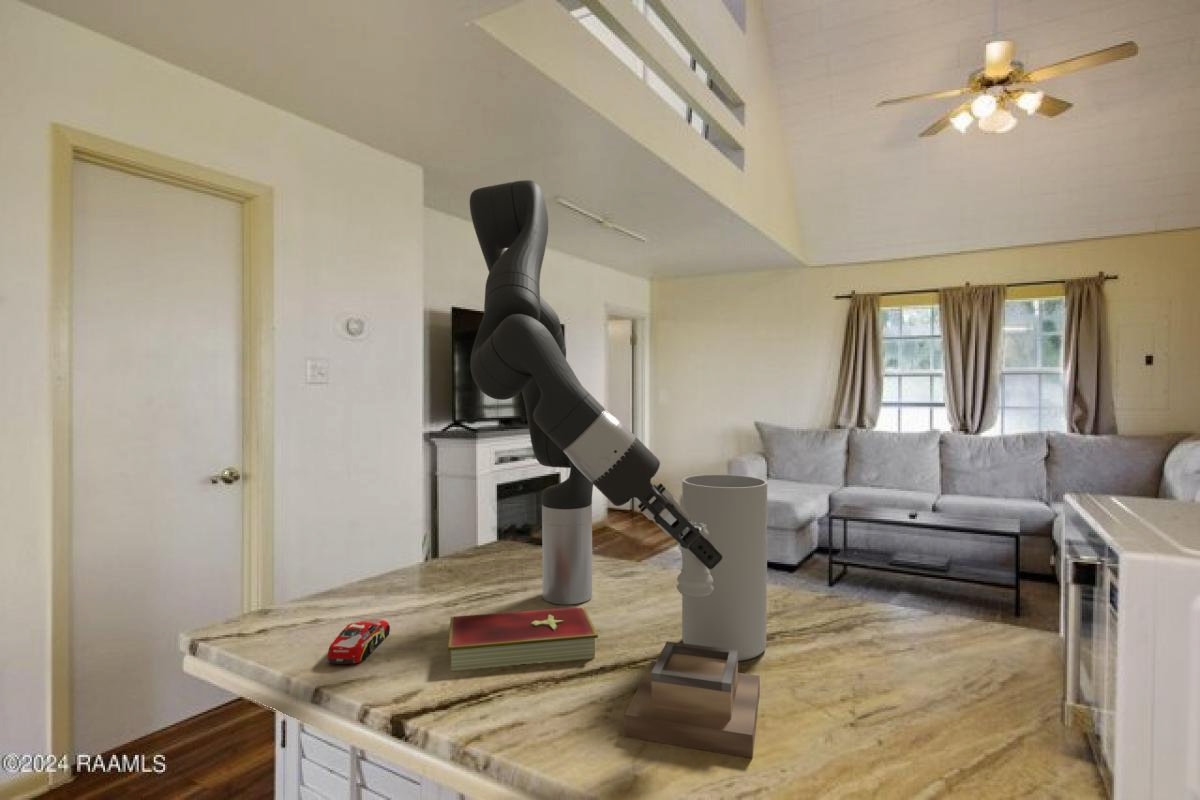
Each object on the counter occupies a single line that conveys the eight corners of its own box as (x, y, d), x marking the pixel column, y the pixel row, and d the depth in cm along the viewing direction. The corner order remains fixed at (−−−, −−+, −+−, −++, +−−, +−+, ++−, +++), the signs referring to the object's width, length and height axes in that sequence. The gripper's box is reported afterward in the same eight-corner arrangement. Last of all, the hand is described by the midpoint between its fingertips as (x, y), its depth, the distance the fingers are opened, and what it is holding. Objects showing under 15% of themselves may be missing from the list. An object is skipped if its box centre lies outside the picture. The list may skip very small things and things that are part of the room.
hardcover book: (451, 640, 98) (450, 614, 98) (583, 629, 102) (583, 604, 102) (448, 676, 86) (447, 645, 86) (597, 662, 90) (597, 633, 90)
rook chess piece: (713, 599, 72) (714, 530, 72) (674, 596, 73) (675, 528, 73) (714, 586, 76) (715, 521, 76) (677, 584, 77) (678, 520, 77)
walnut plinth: (651, 679, 84) (651, 631, 84) (759, 694, 80) (759, 644, 79) (624, 736, 70) (624, 679, 70) (752, 758, 66) (752, 697, 66)
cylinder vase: (772, 636, 98) (773, 477, 97) (757, 670, 86) (758, 490, 86) (695, 623, 103) (695, 472, 102) (671, 653, 92) (671, 484, 91)
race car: (362, 632, 101) (362, 607, 101) (395, 632, 101) (395, 608, 100) (320, 668, 88) (319, 640, 88) (357, 669, 87) (357, 641, 87)
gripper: (640, 439, 67) (752, 552, 68) (628, 429, 81) (720, 523, 82) (590, 489, 67) (703, 601, 67) (586, 471, 81) (680, 563, 82)
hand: (712, 558), depth 75 cm, fingers closed on rook chess piece, 3 cm apart
